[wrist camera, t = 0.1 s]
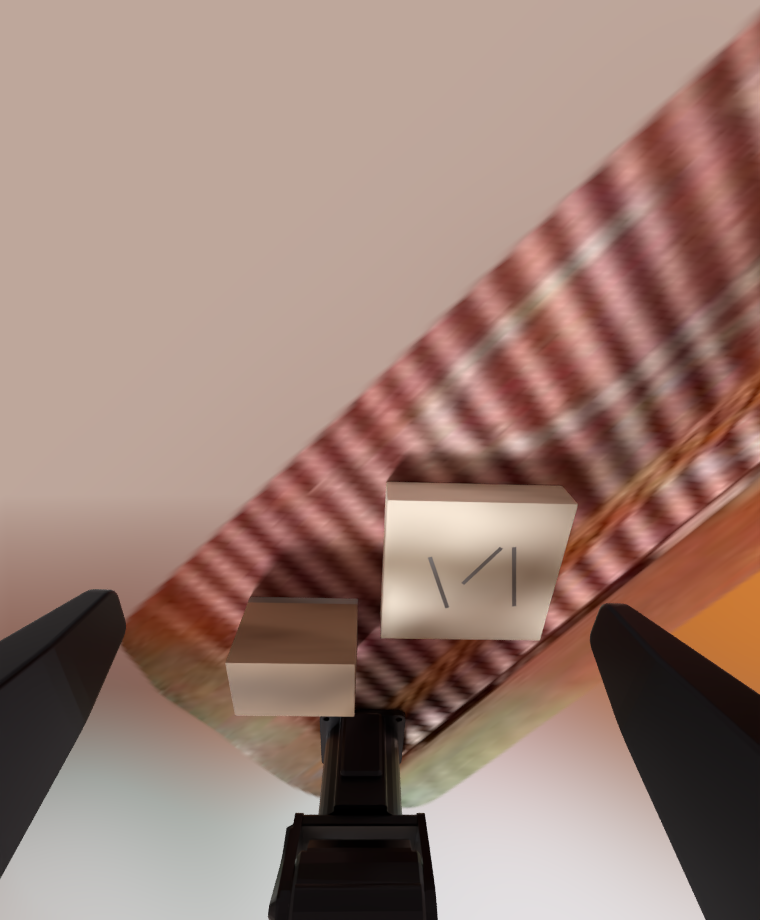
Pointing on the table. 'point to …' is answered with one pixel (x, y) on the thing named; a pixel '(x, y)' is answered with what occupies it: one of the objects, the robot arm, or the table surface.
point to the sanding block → (295, 657)
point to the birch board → (471, 559)
